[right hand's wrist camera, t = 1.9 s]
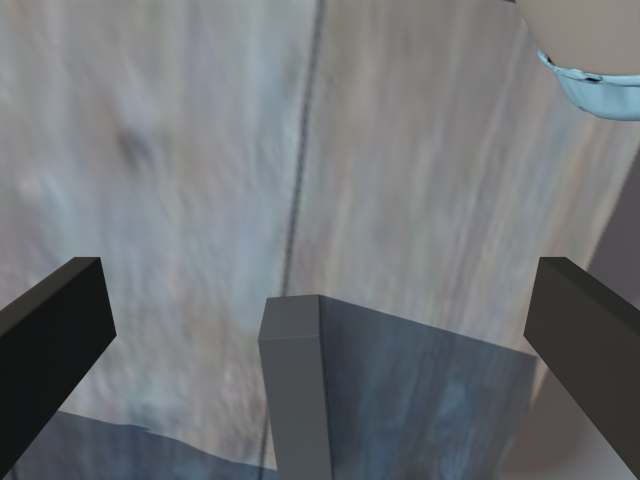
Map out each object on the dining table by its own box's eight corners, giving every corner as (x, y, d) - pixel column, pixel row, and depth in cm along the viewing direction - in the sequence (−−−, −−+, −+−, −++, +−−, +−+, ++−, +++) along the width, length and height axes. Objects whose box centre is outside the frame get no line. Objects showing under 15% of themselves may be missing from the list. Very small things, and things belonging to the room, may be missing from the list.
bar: (266, 297, 46) (257, 339, 38) (319, 294, 46) (319, 335, 38) (290, 472, 55) (286, 533, 48) (333, 469, 55) (336, 530, 48)
